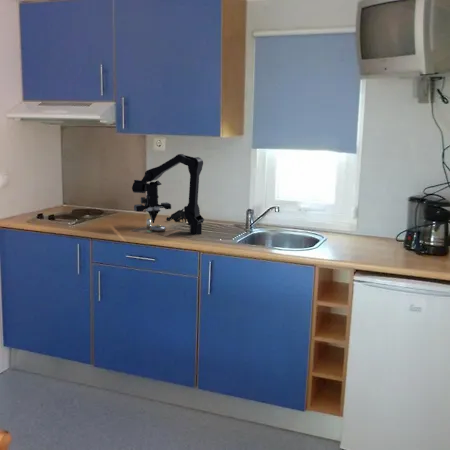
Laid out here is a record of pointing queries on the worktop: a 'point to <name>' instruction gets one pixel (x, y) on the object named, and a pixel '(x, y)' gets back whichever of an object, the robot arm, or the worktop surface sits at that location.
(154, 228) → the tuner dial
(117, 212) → the worktop surface
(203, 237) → the worktop surface
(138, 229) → the board
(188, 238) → the worktop surface
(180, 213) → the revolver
